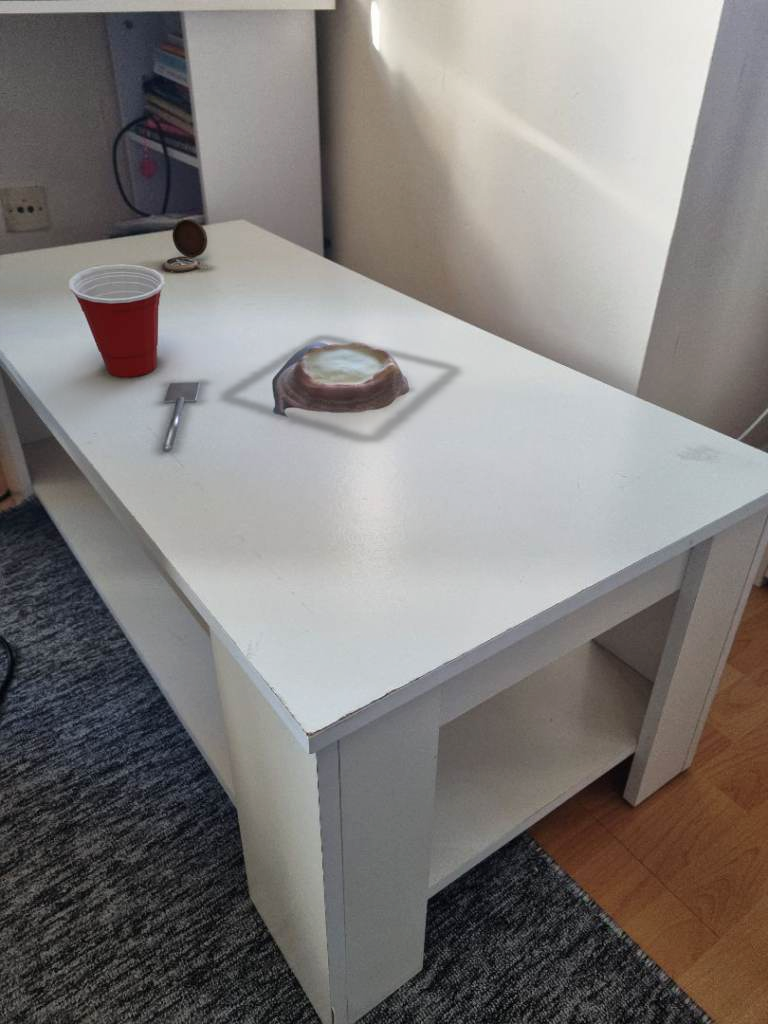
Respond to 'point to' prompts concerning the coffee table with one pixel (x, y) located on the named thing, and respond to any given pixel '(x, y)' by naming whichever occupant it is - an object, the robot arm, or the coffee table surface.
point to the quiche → (338, 379)
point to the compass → (187, 246)
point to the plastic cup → (122, 315)
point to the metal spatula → (178, 407)
